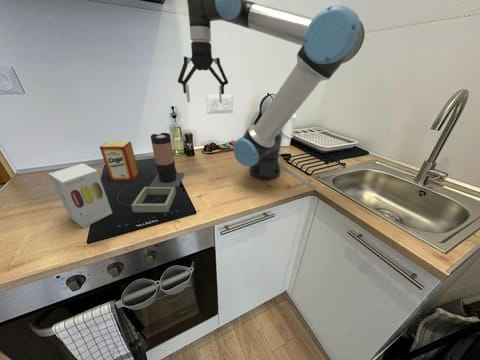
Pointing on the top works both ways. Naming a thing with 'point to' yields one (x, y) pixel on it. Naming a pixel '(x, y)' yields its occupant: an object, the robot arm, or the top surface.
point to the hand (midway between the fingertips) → (204, 102)
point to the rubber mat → (175, 183)
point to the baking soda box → (119, 160)
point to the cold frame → (140, 207)
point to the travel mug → (164, 157)
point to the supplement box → (81, 194)
